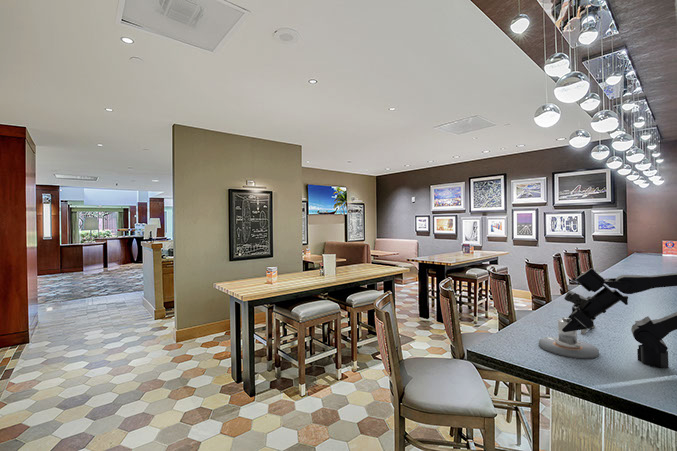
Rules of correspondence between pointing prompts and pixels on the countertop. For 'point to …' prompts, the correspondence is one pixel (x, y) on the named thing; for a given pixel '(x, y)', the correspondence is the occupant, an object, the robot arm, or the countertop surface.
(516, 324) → the countertop surface
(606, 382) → the countertop surface
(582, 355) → the turntable
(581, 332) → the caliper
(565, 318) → the cover
